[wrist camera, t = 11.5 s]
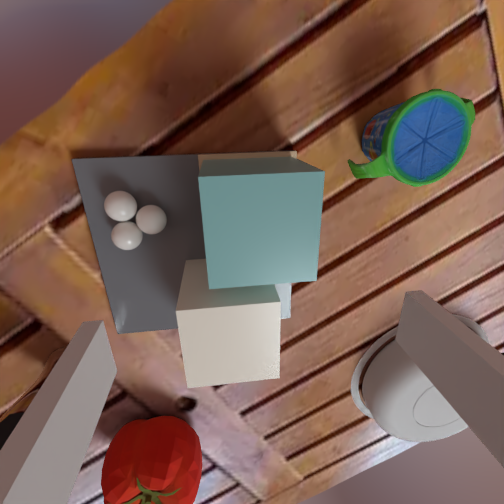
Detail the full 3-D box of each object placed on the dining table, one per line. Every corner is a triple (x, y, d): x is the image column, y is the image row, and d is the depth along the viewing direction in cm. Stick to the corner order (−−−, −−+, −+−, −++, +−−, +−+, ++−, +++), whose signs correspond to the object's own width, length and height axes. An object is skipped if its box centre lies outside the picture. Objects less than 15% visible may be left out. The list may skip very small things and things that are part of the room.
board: (120, 328, 38) (117, 335, 36) (75, 158, 29) (70, 159, 28) (288, 313, 40) (290, 319, 39) (293, 150, 31) (296, 151, 30)
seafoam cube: (210, 243, 33) (209, 289, 24) (203, 159, 29) (198, 176, 20) (289, 238, 34) (316, 280, 25) (291, 156, 30) (324, 171, 21)
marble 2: (119, 244, 32) (110, 255, 29) (113, 218, 31) (103, 227, 28) (147, 242, 32) (141, 253, 30) (142, 216, 31) (135, 225, 28)
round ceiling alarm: (331, 339, 43) (349, 372, 38) (495, 285, 43) (537, 309, 37) (357, 439, 54) (374, 476, 48) (489, 396, 53) (521, 428, 48)
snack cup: (427, 74, 30) (490, 61, 23) (439, 147, 33) (497, 153, 26) (324, 125, 31) (355, 126, 24) (345, 191, 34) (378, 209, 27)
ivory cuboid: (194, 323, 37) (187, 388, 28) (185, 260, 34) (175, 310, 25) (263, 317, 38) (279, 377, 29) (263, 254, 35) (280, 301, 26)
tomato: (221, 425, 47) (222, 502, 38) (165, 467, 50) (154, 549, 40) (153, 386, 42) (136, 463, 33) (96, 434, 45) (64, 519, 35)
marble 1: (113, 217, 31) (103, 226, 28) (106, 188, 30) (95, 195, 27) (142, 215, 31) (135, 224, 28) (137, 187, 30) (129, 193, 27)
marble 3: (142, 229, 32) (135, 239, 29) (137, 202, 30) (129, 210, 28) (170, 227, 32) (166, 237, 29) (166, 200, 31) (162, 208, 28)
